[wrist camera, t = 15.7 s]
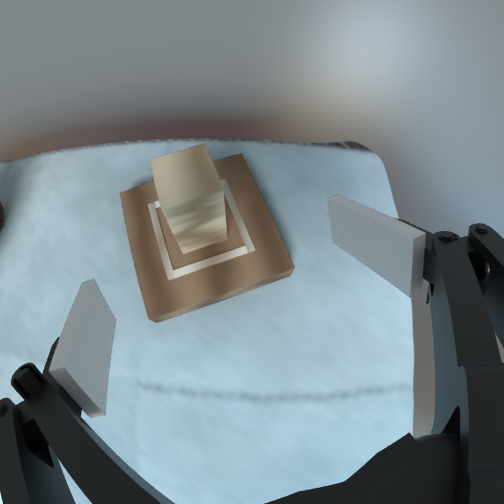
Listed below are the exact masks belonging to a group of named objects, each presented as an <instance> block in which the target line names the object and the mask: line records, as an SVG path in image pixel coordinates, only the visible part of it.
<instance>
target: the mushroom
mask: <svg viewBox="0 0 504 504" xmlns="http://www.w3.org/2000/svg"><path fill="white" fill-rule="evenodd" d="M3 218H4V213H3V206H2V205H1V203H0V228H1V226H2V224H3Z"/></svg>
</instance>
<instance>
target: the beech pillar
mask: <svg viewBox="0 0 504 504" xmlns="http://www.w3.org/2000/svg"><path fill="white" fill-rule="evenodd" d="M150 165H151V170H152V174H153V178H154V183H155V187H156V191H157V195H158V199H159V203H160V207H161V210H162V212H163V214H164V216H165V218H166V220H167V223H168V225H169V227H170V229H171V231H172V233H173V235H174V237H175V239H176V241H177V243H178V245H179V247H180V249H181V251H182V253H183V254H186V253H189V252H192V251H195V250H198V249H201V248H204V247H207V246H210V245H213V244H216V243H219V242H222V241H225V240H228V238H227V227H226V216H225V204H224V192H223V186H222V184H221V181H220V179H219V176H218V174H217V171H216V169H215V166H214V164H213V161H212V159H211V156H210V153H209V151H208V148H207V146H206V143H205V144H201V145H198V146H194V147H191V148H188V149H184V150H181V151H178V152H175V153H172V154H168V155H165V156H162V157H159V158H156V159H153V160H150Z"/></svg>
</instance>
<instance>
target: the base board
mask: <svg viewBox="0 0 504 504" xmlns="http://www.w3.org/2000/svg"><path fill="white" fill-rule="evenodd" d="M213 164H214V166H215V169H216V171H217V174H218V176H219V179H220V181H221V184H222V186H223V192H224V204H225V216H226V227H227V238H228V240H225V241H222V242H219V243H216V244H213V245H210V246H207V247H204V248H201V249H198V250H195V251H192V252H189V253H186V254H183V253H182V251H181V249H180V247H179V245H178V243H177V241H176V239H175V237H174V235H173V233H172V231H171V229H170V227H169V225H168V223H167V220H166V218H165V216H164V214H163V212H162V210H161V207H160V203H159V199H158V195H157V191H156V187H155V183H154V181H151V182H148V183H145V184H143V185H140V186H137V187H135V188H132V189H129V190H127V191H124V192H121V193H120V196H121V202H122V208H123V213H124V219H125V224H126V229H127V234H128V239H129V243H130V248H131V253H132V257H133V261H134V266H135V270H136V274H137V278H138V282H139V286H140V290H141V293H142V297H143V301H144V304H145V308H146V312H147V315H148V318H149V319H150V320H152V321H154V322H156V323H158V322H161V321H164V320H167V319H170V318H173V317H176V316H179V315H182V314H185V313H187V312H190V311H193V310H196V309H199V308H202V307H205V306H208V305H211V304H214V303H216V302H219V301H222V300H225V299H228V298H230V297H233V296H236V295H239V294H242V293H244V292H247V291H250V290H253V289H255V288H258V287H261V286H264V285H266V284H269V283H272V282H274V281H277V280H280V279H282V278H285V277H288V276H290V275H291V273H292V271H293V270H294V268H295V267H294V265H293V263H292V260H291V258H290V256H289V254H288V251H287V249H286V247H285V245H284V242H283V240H282V238H281V236H280V234H279V231H278V229H277V227H276V225H275V223H274V221H273V218H272V216H271V214H270V212H269V210H268V208H267V205H266V203H265V201H264V199H263V197H262V195H261V193H260V190H259V188H258V186H257V184H256V182H255V180H254V178H253V176H252V174H251V171H250V169H249V167H248V165H247V163H246V161H245V159H244V157H243V155H242V153H241V154H237V155H233V156H230V157H226V158H223V159H219V160H216V161H213Z"/></svg>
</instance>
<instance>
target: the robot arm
mask: <svg viewBox="0 0 504 504" xmlns="http://www.w3.org/2000/svg"><path fill="white" fill-rule="evenodd" d="M327 201H328V208H329V215H330V222H331V230H332V238H333V243H334V244H335V245H337V246H338V247H340V248H341V249H343V250H344V251H346V252H347V253H349V254H350V255H352V256H353V257H354V258H356V259H357V260H359V261H360V262H362V263H363V264H364V265H366V266H367V267H369V268H370V269H371V270H373V271H374V272H376V273H377V274H378V275H380V276H381V277H383V278H384V279H385V280H387V281H388V282H390V283H391V284H392V285H394V286H395V287H396V288H398V289H399V290H401V291H402V292H403V293H405V294H406V295H407V296H409V297H411V296H413V295H415V294H416V293H418V292H420V291H422V284H423V278H424V279H425V280H427V281H428V282H429V286H428V294H427V302H426V303H429V300H430V307H431V316H432V326H433V339H434V354H435V387H436V389H435V419H434V424H433V428H432V431H431V435H426V436H422V437H419V438H416V439H414V438H413V436H412V435H411V434H410V433H408V434H406V435H405V436H403V437H402V438H400V439H399V440H397V441H396V442H394V443H393V444H391V445H390V446H388V447H386V448H385V449H383V450H381V451H380V452H378V453H377V454H376V455H374V456H373V457H372V458H371V459H370V460H369V461H368V462H367V463H366V464H365V465H364V466H362V467H361V468H360V469H359V470H358V471H357V472H356V473H354V474H353V475H352V476H351V477H350V478H348V479H347V480H346V481H344V482H341V483H337V484H333V485H329V486H324V487H320V488H315V489H310V490H304V491H299V492H296V493H293V494H291V495H288V496H285V497H283V498H280V499H277V500H274V501H271V502H268V503H265V504H504V363H502V361H501V357H500V353H499V349H498V344H497V341H496V337H495V333H496V335H497V337H498V338H499V340H500V342H501V344H502V346H503V348H504V239H503V238H502V237H501V236H500V235H499V234H498V233H497V232H496V231H494V230H493V229H492V228H491V227H489V226H487V225H485V224H481V223H478V224H473V225H471V226H470V227H469V233H468V236H466V237H462V238H460V237H459V236H458V235H457V234H455V233H452V232H449V231H440V232H437V233H435V234H432V233H430V232H428V231H426V230H423V229H421V228H419V227H416V226H415V225H413V224H410V223H408V222H406V221H404V220H401V219H396V218H392V217H390V216H388V215H386V214H383V213H381V212H379V211H376V210H374V209H372V208H369V207H367V206H365V205H362V204H360V203H357V202H355V201H352V200H350V199H347V198H345V197H342V196H340V195H337V196H333V197H330V198H327ZM488 268H490V273H489V272H488ZM115 325H116V319H115V317H114V315H113V313H112V312H111V310H110V308H109V306H108V304H107V302H106V301H105V299H104V297H103V295H102V293H101V291H100V289H99V287H98V285H97V283H96V281H95V279H91V280H88V281H86V282H83V283H82V284H81V286H80V289H79V291H78V293H77V296H76V298H75V300H74V303H73V305H72V307H71V310H70V312H69V315H68V317H67V320H66V322H65V325H64V328H63V330H62V333H61V336H60V337H58V338H57V340H56V341H55V342H54V344H53V345H52V347H51V350H50V353H49V354H50V355H49V356H48V358H47V361H46V364H45V367H44V370H43V373H42V374H41V372H40V371H39V370H38V369H37V367H36V366H35V365H34V364H33V363H26V364H24V365H22V366H21V367H19V368H18V369H17V370H16V371H15V373H14V375H13V376H12V379H11V385H12V386H13V388H14V389H15V390H16V391H17V392H18V393H19V394H20V395H21V397H22V398H23V399H24V401H22V402H21V403H19V404H17V405H15V404H14V403H13V402H12V401H11V400H10V399H9V398H3V399H1V400H0V492H1V497H2V501H3V504H76V503H75V501H74V499H73V496H72V494H71V492H70V489H69V487H68V485H67V482H66V480H65V477H64V474H63V472H62V469H61V466H60V463H59V461H58V459H59V460H60V462H61V463H62V465H63V466H64V468H65V469H66V470H67V472H68V473H69V475H70V476H71V477H72V479H73V480H74V481H75V483H76V484H77V485H78V487H79V488H80V489H81V490H82V492H83V493H84V494H85V495H86V497H87V498H88V499H89V500H90V501H91V503H92V504H175V503H173V502H172V501H171V500H169V499H168V498H167V497H165V496H164V495H163V494H162V493H160V492H159V491H158V490H156V489H155V488H154V487H153V486H151V485H150V484H149V483H148V482H147V481H145V480H144V479H143V478H142V477H141V476H140V475H138V474H137V473H136V472H135V471H134V470H133V469H132V468H131V467H129V466H128V465H127V464H126V463H125V462H124V461H123V460H122V459H121V458H120V457H119V456H118V455H117V454H116V453H115V452H114V451H113V450H112V449H111V448H110V447H109V446H108V445H107V444H106V443H105V442H104V441H103V440H102V439H101V438H100V437H99V436H98V435H97V434H96V433H95V432H94V431H93V429H92V428H91V427H90V426H89V425H88V424H87V423H86V422H85V421H84V420H83V419H82V418H81V412H82V410H83V411H84V412H85V413H86V414H87V415H88V416H89V417H90V418H92V417H98V416H103V415H106V401H107V389H108V378H109V369H110V360H111V353H112V345H113V338H114V331H115ZM494 331H495V333H494ZM57 457H58V458H57Z"/></svg>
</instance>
